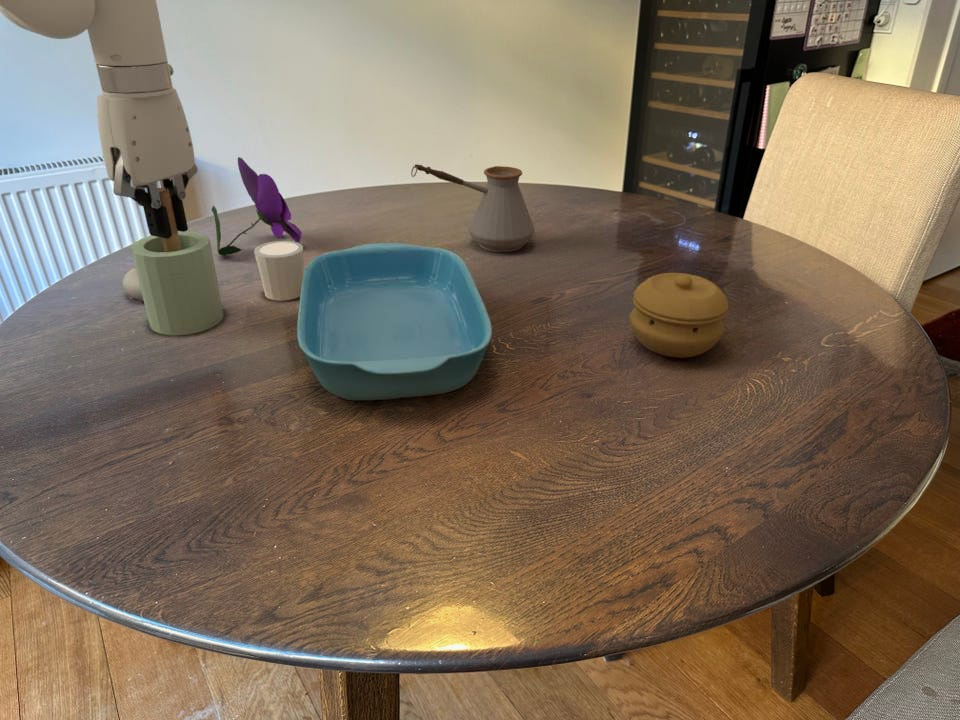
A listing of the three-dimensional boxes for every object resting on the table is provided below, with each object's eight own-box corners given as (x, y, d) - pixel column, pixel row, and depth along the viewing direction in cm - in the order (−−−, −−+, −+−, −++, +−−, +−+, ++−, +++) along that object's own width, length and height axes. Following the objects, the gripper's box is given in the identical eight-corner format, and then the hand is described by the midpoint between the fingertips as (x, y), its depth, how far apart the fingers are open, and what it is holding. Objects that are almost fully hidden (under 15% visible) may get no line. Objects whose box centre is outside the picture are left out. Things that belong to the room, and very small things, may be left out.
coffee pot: (519, 230, 129) (523, 148, 122) (543, 252, 120) (549, 164, 112) (406, 242, 123) (403, 155, 116) (422, 265, 114) (420, 173, 106)
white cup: (277, 280, 108) (272, 237, 104) (317, 287, 106) (312, 243, 102) (251, 298, 102) (243, 252, 99) (292, 305, 100) (286, 259, 97)
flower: (263, 296, 115) (322, 243, 118) (206, 227, 104) (274, 171, 108) (223, 270, 124) (280, 221, 128) (168, 204, 113) (232, 154, 117)
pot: (695, 324, 97) (708, 256, 92) (735, 366, 87) (752, 292, 82) (614, 329, 95) (623, 259, 90) (645, 372, 85) (656, 297, 80)
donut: (116, 290, 104) (138, 311, 98) (110, 268, 103) (132, 288, 96) (183, 273, 110) (208, 292, 103) (178, 252, 108) (204, 270, 102)
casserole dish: (508, 414, 77) (510, 357, 73) (299, 433, 73) (291, 374, 70) (456, 281, 108) (456, 237, 105) (309, 290, 105) (303, 245, 101)
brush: (166, 313, 93) (138, 194, 85) (174, 300, 96) (148, 185, 88) (197, 312, 93) (172, 194, 85) (204, 300, 97) (181, 185, 89)
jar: (140, 336, 91) (120, 257, 86) (161, 306, 99) (144, 231, 94) (215, 334, 92) (200, 255, 87) (229, 303, 100) (216, 230, 95)
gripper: (164, 69, 88) (192, 211, 97) (51, 86, 75) (95, 248, 85) (210, 73, 86) (234, 219, 95) (102, 92, 73) (142, 258, 82)
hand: (169, 232), depth 90 cm, fingers closed on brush, 2 cm apart
